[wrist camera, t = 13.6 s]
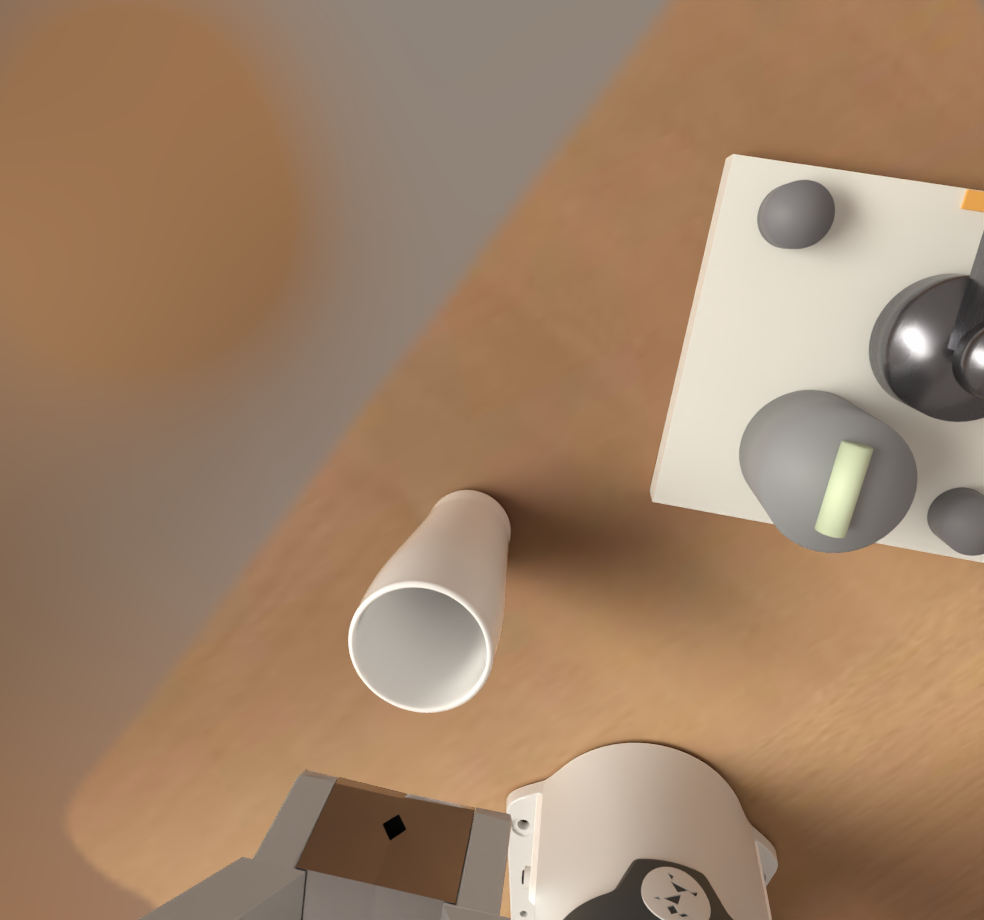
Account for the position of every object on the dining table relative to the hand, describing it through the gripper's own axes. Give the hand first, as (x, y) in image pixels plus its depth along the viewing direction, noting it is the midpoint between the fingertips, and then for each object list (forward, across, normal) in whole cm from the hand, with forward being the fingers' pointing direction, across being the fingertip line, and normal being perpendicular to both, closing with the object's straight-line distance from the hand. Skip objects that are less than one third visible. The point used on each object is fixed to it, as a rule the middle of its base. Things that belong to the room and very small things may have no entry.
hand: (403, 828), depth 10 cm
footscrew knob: (+33, -20, -8) cm, 39 cm away
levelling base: (+35, -17, -4) cm, 39 cm away
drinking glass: (+35, +3, +10) cm, 37 cm away
